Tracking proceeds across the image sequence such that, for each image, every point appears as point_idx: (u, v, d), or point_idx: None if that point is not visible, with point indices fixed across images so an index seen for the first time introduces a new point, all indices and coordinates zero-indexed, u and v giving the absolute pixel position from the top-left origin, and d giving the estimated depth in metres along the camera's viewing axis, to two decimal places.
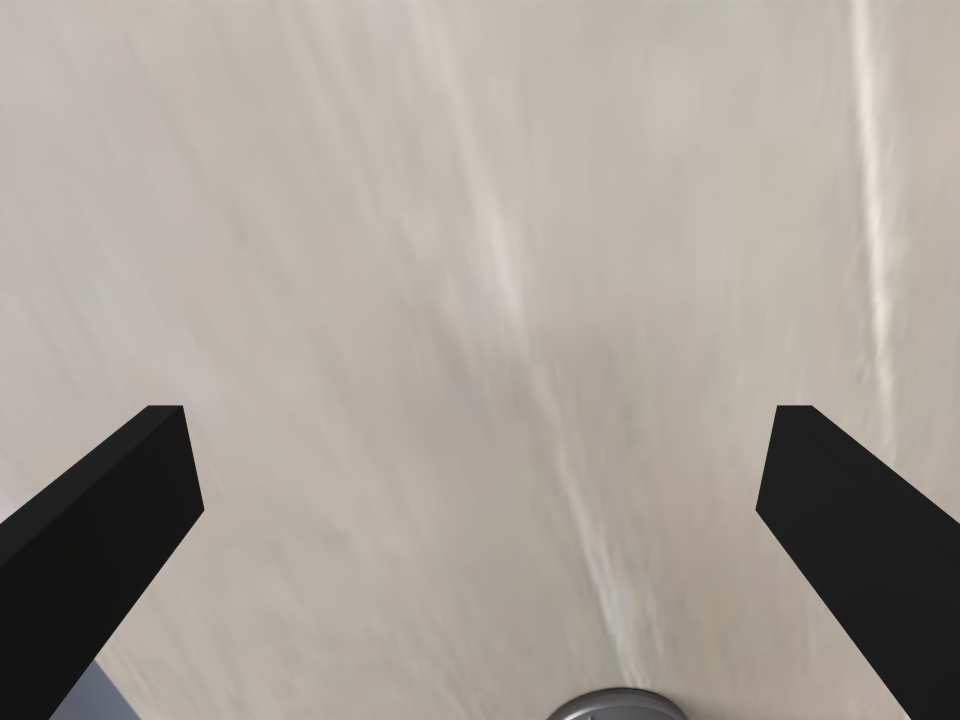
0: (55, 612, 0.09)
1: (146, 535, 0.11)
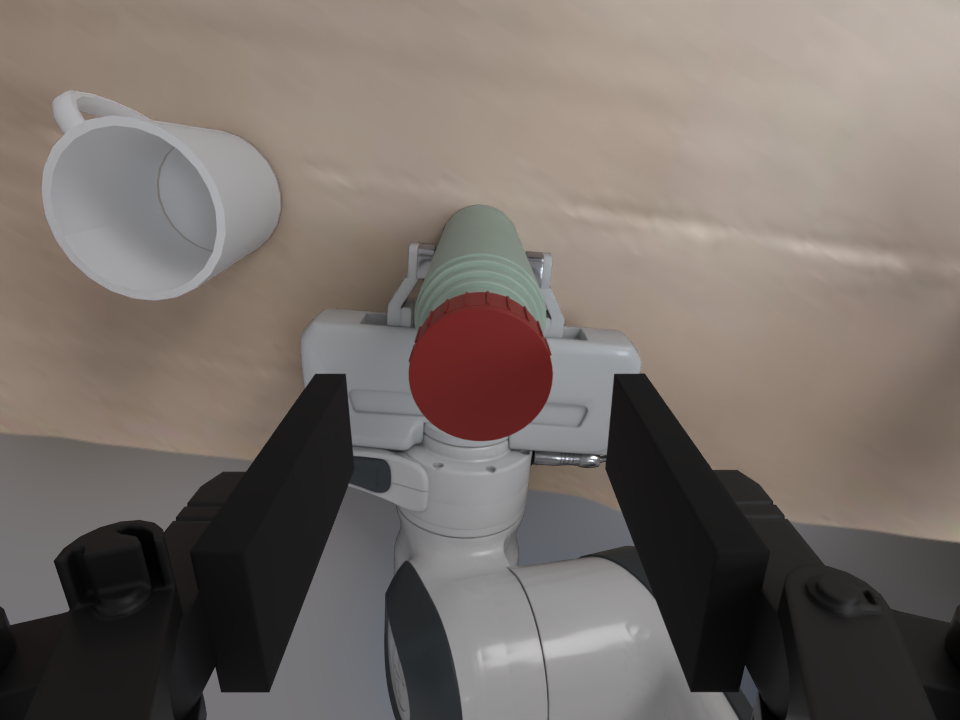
0: (297, 535, 0.10)
1: (331, 483, 0.13)
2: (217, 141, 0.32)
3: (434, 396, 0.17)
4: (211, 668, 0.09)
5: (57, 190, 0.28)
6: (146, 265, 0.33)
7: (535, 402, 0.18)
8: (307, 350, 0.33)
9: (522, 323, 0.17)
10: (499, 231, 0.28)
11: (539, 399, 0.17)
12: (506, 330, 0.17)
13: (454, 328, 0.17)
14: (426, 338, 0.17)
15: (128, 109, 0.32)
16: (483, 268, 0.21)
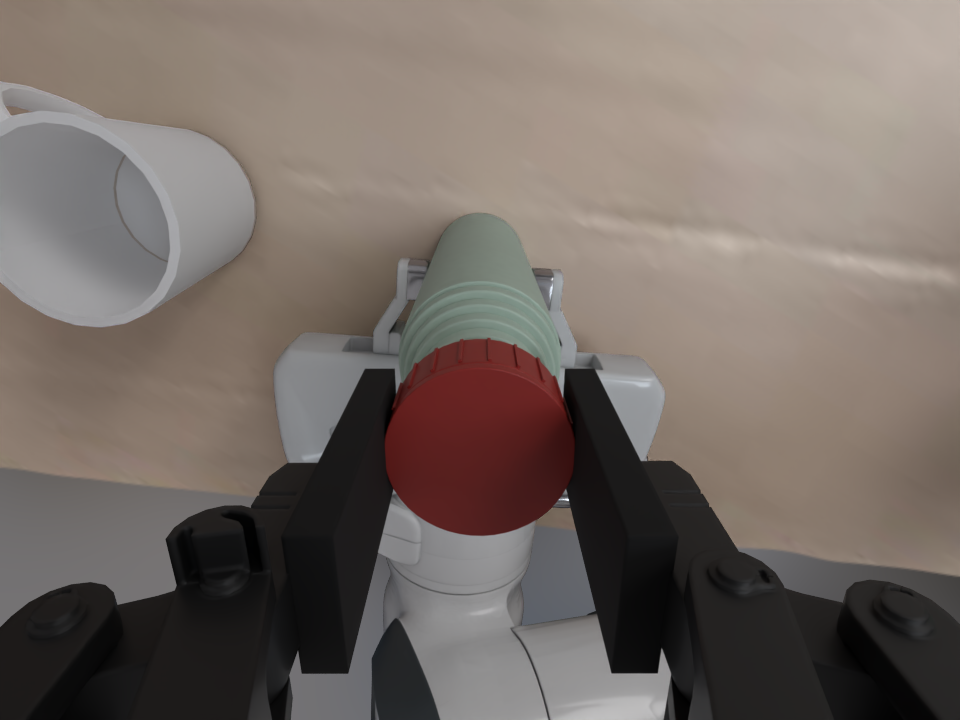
0: (365, 524, 0.11)
1: (385, 474, 0.13)
2: (175, 141, 0.27)
3: (418, 480, 0.13)
4: (296, 650, 0.09)
5: None
6: (95, 284, 0.28)
7: (552, 488, 0.13)
8: (281, 382, 0.29)
9: (536, 387, 0.12)
10: (502, 247, 0.24)
11: (557, 484, 0.13)
12: (514, 396, 0.12)
13: (444, 394, 0.12)
14: (406, 406, 0.12)
15: (73, 104, 0.27)
16: (483, 301, 0.17)
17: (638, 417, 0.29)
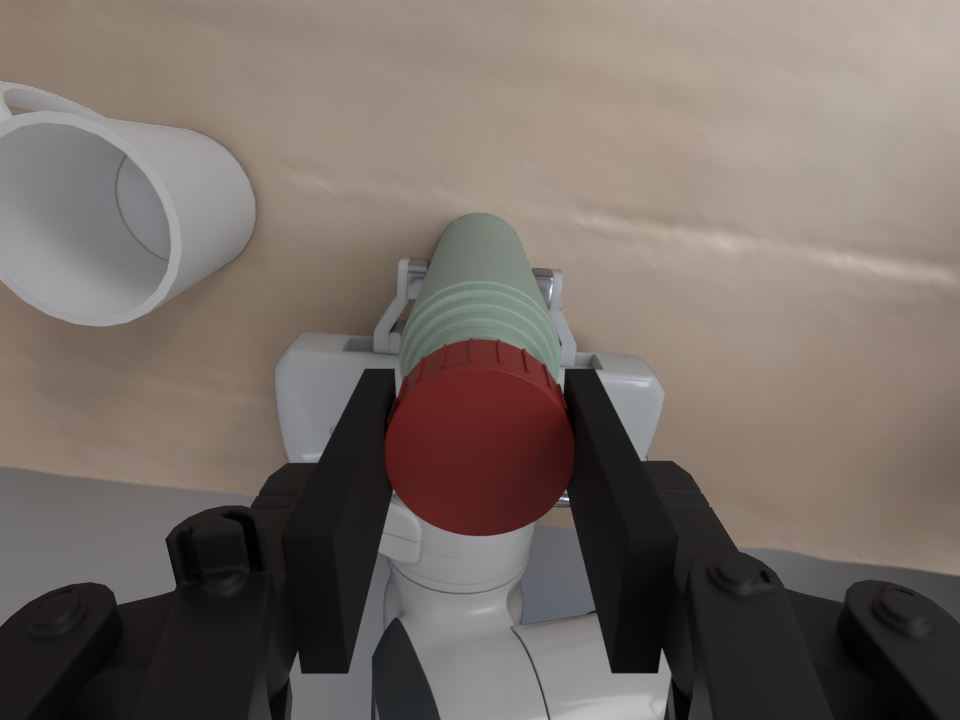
0: (365, 524, 0.11)
1: (385, 474, 0.13)
2: (176, 141, 0.27)
3: (494, 513, 0.13)
4: (296, 650, 0.09)
5: None
6: (96, 283, 0.28)
7: (531, 397, 0.12)
8: (281, 381, 0.29)
9: (411, 397, 0.12)
10: (502, 247, 0.24)
11: (527, 391, 0.12)
12: (418, 417, 0.13)
13: (406, 475, 0.13)
14: (415, 507, 0.13)
15: (74, 104, 0.27)
16: (483, 301, 0.17)
17: (638, 416, 0.29)
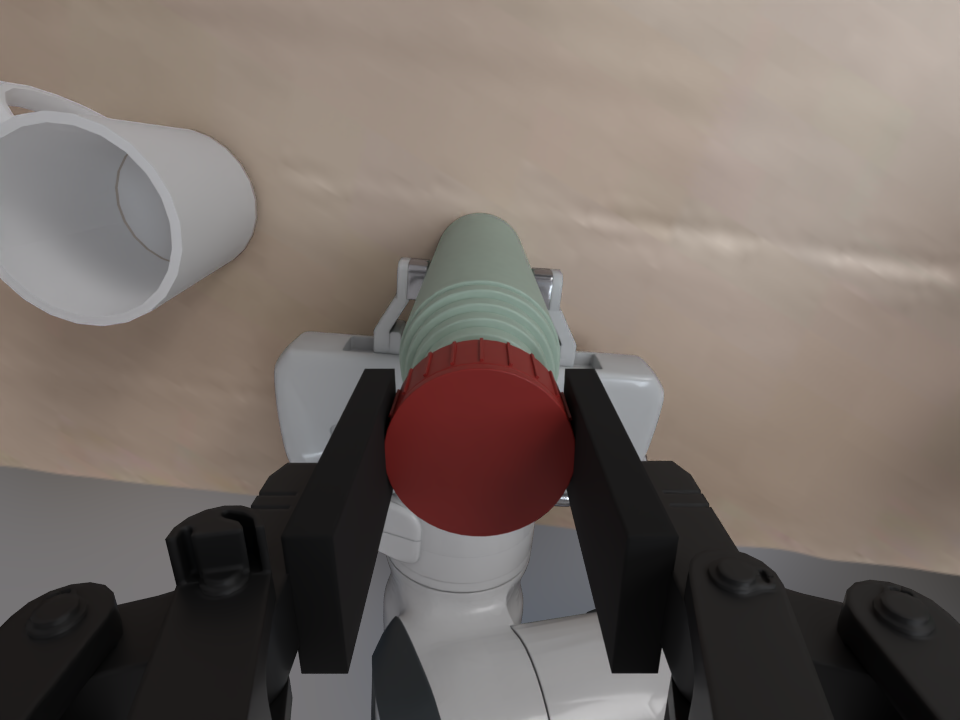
0: (364, 524, 0.11)
1: (385, 474, 0.13)
2: (177, 141, 0.27)
3: (547, 455, 0.13)
4: (296, 649, 0.09)
5: None
6: (97, 283, 0.28)
7: (421, 403, 0.12)
8: (282, 381, 0.29)
9: (404, 502, 0.13)
10: (502, 247, 0.24)
11: (414, 406, 0.12)
12: (426, 500, 0.13)
13: (486, 522, 0.14)
14: (523, 521, 0.14)
15: (75, 104, 0.27)
16: (483, 300, 0.17)
17: (637, 416, 0.30)
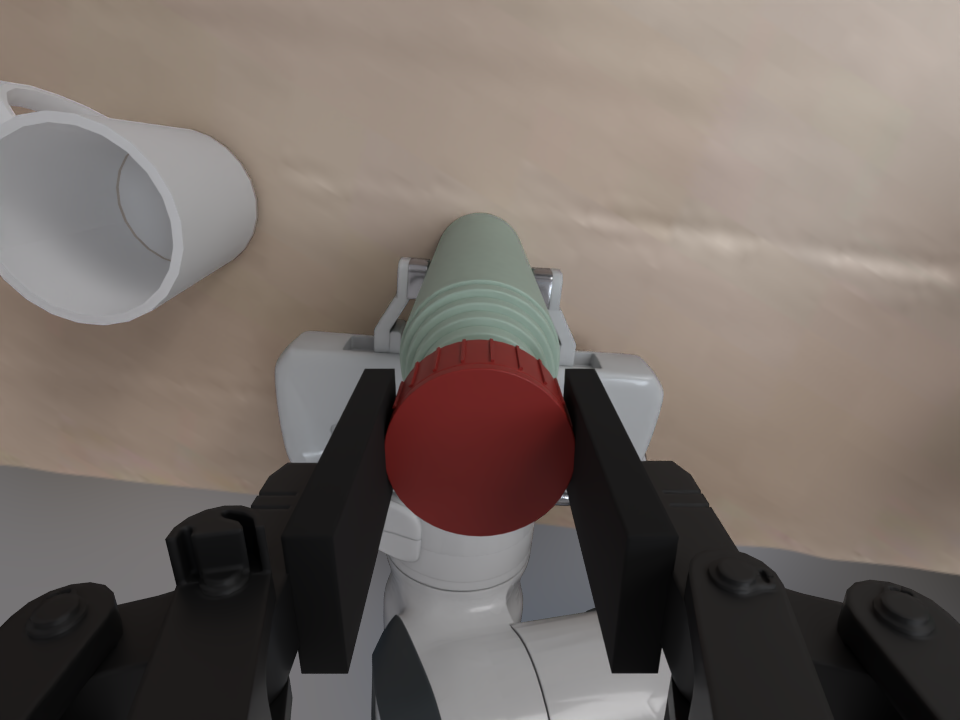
0: (365, 524, 0.11)
1: (385, 474, 0.13)
2: (178, 141, 0.27)
3: (489, 396, 0.12)
4: (296, 650, 0.09)
5: None
6: (98, 282, 0.28)
7: (412, 495, 0.13)
8: (282, 380, 0.29)
9: (514, 528, 0.14)
10: (502, 247, 0.24)
11: (413, 501, 0.13)
12: (517, 510, 0.13)
13: (556, 464, 0.13)
14: (565, 429, 0.13)
15: (76, 104, 0.28)
16: (483, 299, 0.17)
17: (637, 415, 0.30)
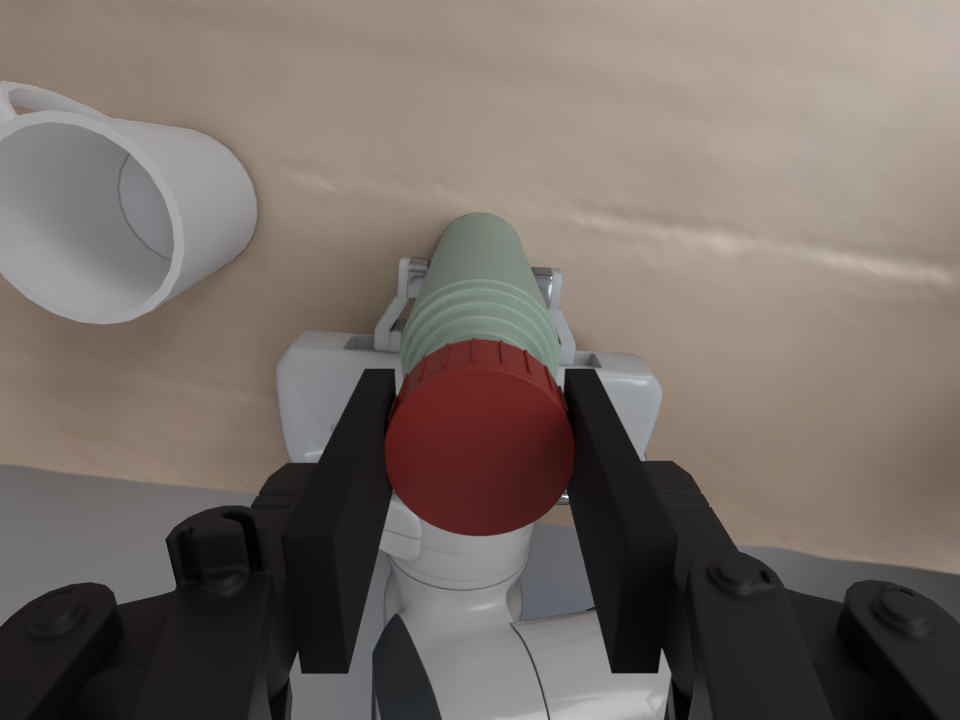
0: (365, 523, 0.11)
1: (385, 474, 0.13)
2: (179, 140, 0.27)
3: (414, 438, 0.13)
4: (296, 650, 0.09)
5: None
6: (99, 282, 0.29)
7: (509, 521, 0.14)
8: (283, 379, 0.29)
9: (571, 439, 0.13)
10: (502, 246, 0.24)
11: (516, 521, 0.14)
12: (550, 433, 0.13)
13: (502, 390, 0.12)
14: (463, 375, 0.12)
15: (77, 104, 0.28)
16: (483, 299, 0.17)
17: (636, 414, 0.30)
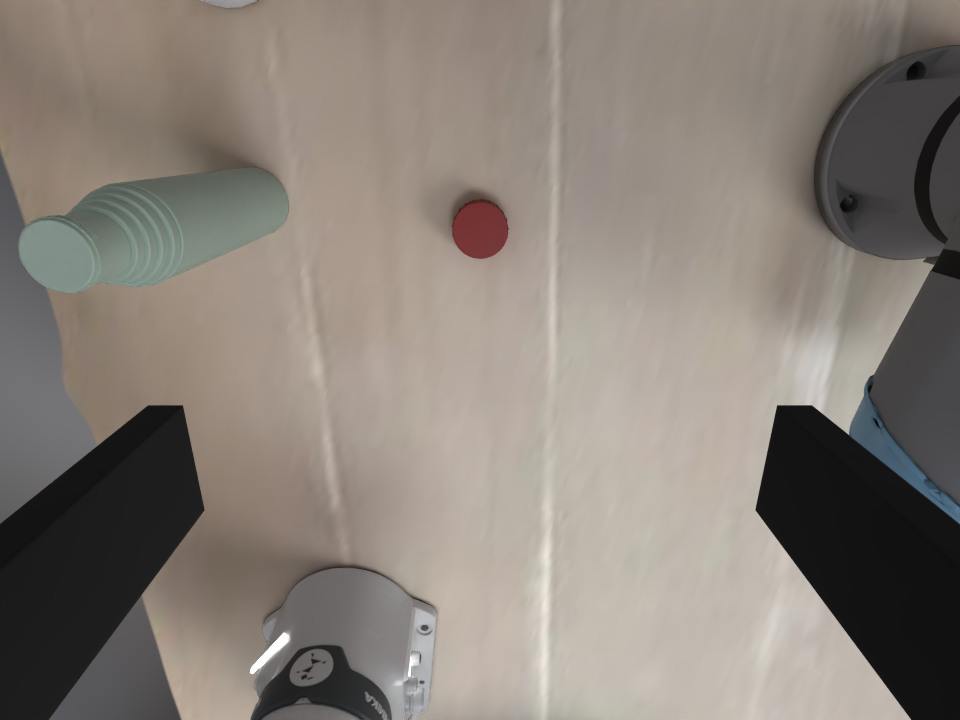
0: (55, 612, 0.09)
1: (146, 535, 0.11)
2: None
3: (470, 248, 0.45)
4: None
5: None
6: None
7: (503, 226, 0.45)
8: None
9: (479, 203, 0.44)
10: (235, 227, 0.36)
11: (504, 224, 0.45)
12: (476, 209, 0.44)
13: (460, 220, 0.45)
14: (454, 230, 0.45)
15: None
16: (163, 233, 0.28)
17: None
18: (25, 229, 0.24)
